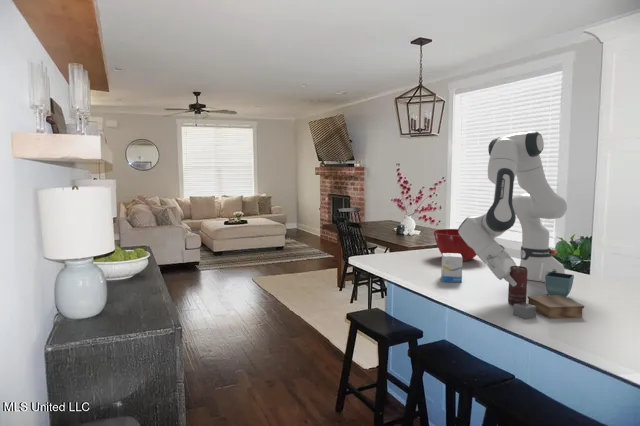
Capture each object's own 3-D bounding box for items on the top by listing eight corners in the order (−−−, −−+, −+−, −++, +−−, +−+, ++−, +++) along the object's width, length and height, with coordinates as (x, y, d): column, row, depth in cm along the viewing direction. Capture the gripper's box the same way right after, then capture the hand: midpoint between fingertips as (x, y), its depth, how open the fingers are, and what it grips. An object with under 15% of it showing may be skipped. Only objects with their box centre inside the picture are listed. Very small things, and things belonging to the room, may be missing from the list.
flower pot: (548, 292, 172) (549, 271, 171) (573, 296, 166) (574, 274, 165) (543, 297, 165) (544, 275, 164) (569, 302, 159) (570, 279, 159)
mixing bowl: (422, 255, 247) (423, 229, 246) (463, 252, 256) (464, 227, 254) (451, 265, 220) (452, 236, 219) (496, 262, 229) (497, 234, 227)
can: (520, 300, 161) (522, 265, 159) (529, 306, 154) (531, 269, 153) (504, 301, 161) (506, 265, 159) (512, 306, 154) (514, 269, 153)
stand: (558, 305, 155) (559, 295, 155) (583, 317, 143) (584, 305, 142) (526, 306, 154) (527, 296, 154) (548, 318, 142) (549, 307, 141)
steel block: (523, 313, 147) (523, 302, 147) (535, 317, 143) (536, 306, 142) (513, 315, 145) (513, 304, 145) (525, 320, 141) (526, 308, 140)
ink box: (462, 282, 187) (463, 256, 186) (442, 281, 189) (443, 256, 188) (459, 277, 195) (460, 253, 194) (440, 276, 197) (441, 252, 196)
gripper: (491, 252, 151) (520, 283, 147) (503, 244, 168) (528, 272, 163) (478, 263, 154) (505, 293, 149) (490, 254, 171) (515, 281, 166)
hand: (517, 282), depth 157 cm, fingers open, 8 cm apart
